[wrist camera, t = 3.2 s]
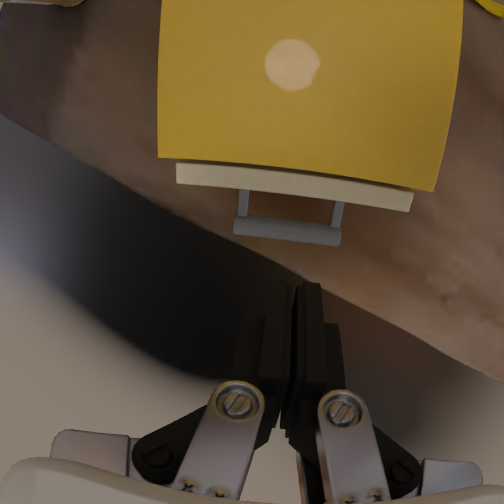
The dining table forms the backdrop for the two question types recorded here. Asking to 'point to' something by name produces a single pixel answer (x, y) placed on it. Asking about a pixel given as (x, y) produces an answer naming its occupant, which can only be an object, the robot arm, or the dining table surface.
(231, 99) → the cabinet
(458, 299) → the dining table surface
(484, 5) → the watch
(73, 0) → the sprinkles bottle
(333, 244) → the drawer
